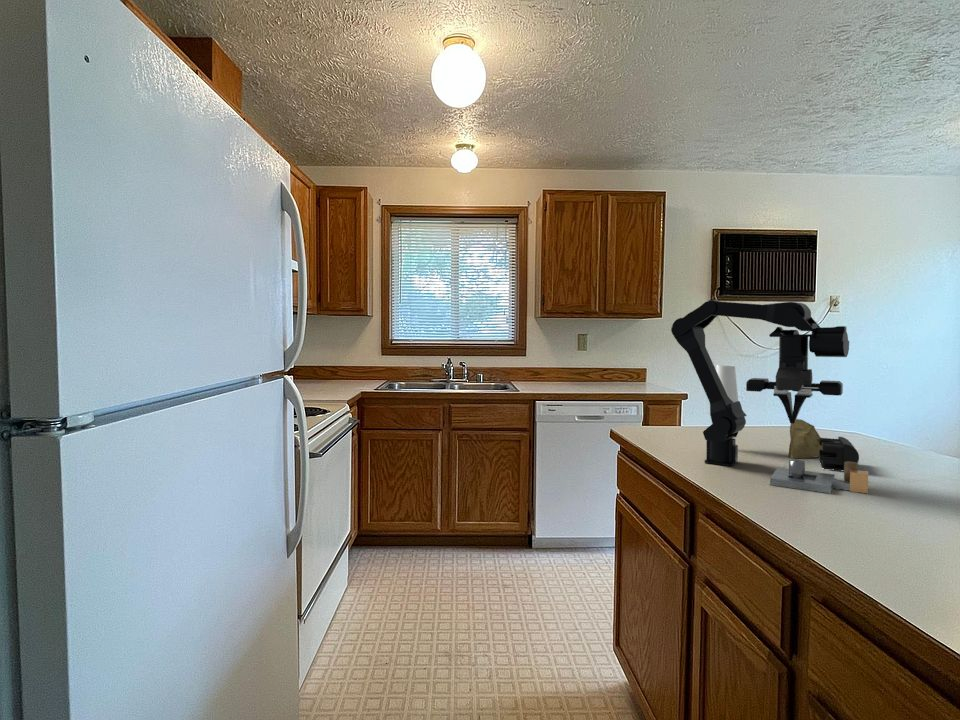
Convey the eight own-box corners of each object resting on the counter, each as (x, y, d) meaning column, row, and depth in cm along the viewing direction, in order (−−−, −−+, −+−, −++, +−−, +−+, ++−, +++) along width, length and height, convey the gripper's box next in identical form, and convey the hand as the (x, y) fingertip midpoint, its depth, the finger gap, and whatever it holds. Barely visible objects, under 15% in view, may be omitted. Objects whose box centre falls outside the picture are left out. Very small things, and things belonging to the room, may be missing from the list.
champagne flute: (741, 448, 148) (741, 365, 146) (734, 452, 143) (734, 366, 141) (716, 445, 152) (716, 364, 151) (708, 449, 147) (709, 365, 146)
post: (787, 483, 113) (788, 461, 113) (789, 480, 115) (790, 458, 115) (803, 486, 111) (804, 463, 111) (805, 482, 113) (805, 460, 113)
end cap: (859, 473, 120) (859, 445, 120) (822, 470, 124) (823, 442, 123) (852, 463, 129) (853, 437, 129) (819, 460, 133) (819, 434, 132)
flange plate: (770, 484, 112) (770, 466, 112) (777, 473, 121) (778, 456, 121) (867, 499, 102) (867, 479, 102) (868, 485, 111) (868, 467, 110)
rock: (826, 444, 141) (785, 436, 145) (835, 423, 135) (792, 416, 139) (829, 475, 134) (785, 466, 138) (838, 454, 128) (792, 445, 132)
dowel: (843, 486, 111) (844, 463, 110) (844, 483, 112) (844, 460, 112) (857, 488, 109) (857, 464, 109) (858, 485, 111) (858, 462, 111)
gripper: (741, 357, 119) (740, 424, 120) (839, 358, 107) (838, 432, 108) (751, 355, 127) (750, 417, 128) (843, 356, 116) (842, 425, 117)
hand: (792, 423), depth 120 cm, fingers closed
